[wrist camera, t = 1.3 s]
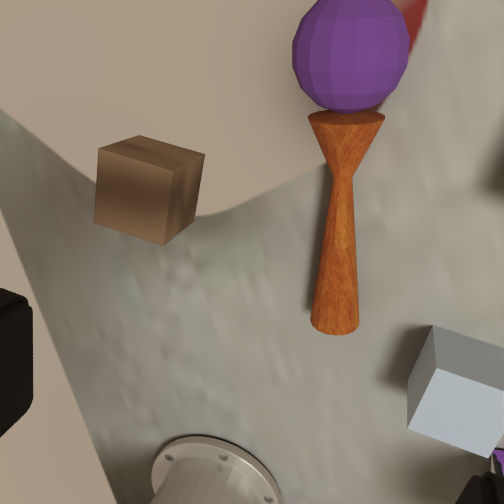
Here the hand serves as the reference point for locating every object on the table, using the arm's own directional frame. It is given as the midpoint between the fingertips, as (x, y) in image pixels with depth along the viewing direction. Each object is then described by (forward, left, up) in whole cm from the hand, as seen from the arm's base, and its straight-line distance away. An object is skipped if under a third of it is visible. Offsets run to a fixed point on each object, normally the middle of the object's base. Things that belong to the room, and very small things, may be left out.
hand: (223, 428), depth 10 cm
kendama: (0, 0, -24) cm, 24 cm away
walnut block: (-4, +12, -23) cm, 26 cm away
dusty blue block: (-11, -11, -23) cm, 28 cm away
